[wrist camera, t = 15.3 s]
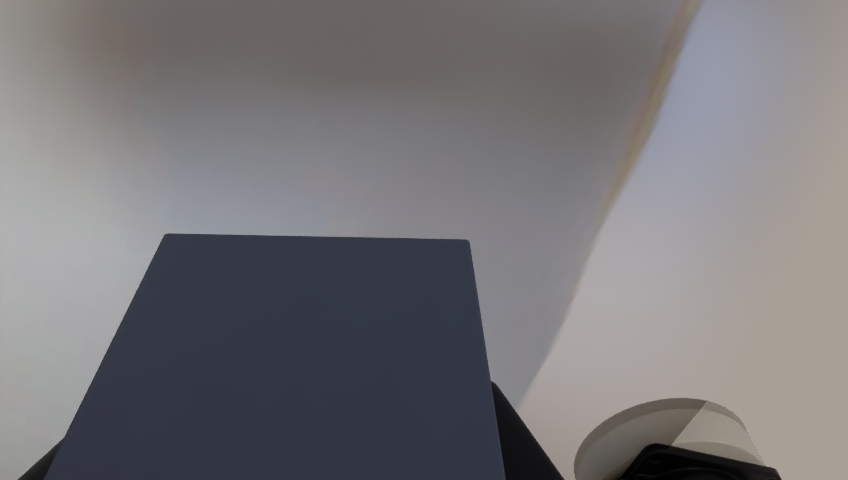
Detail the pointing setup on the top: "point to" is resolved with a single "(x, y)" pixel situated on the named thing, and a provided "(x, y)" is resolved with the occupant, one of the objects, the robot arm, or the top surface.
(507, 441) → the robot arm
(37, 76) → the top surface
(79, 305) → the top surface
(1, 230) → the top surface
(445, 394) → the block
